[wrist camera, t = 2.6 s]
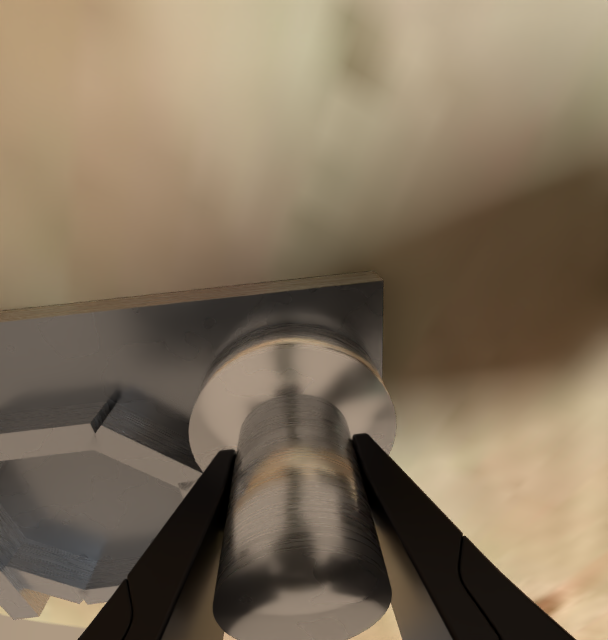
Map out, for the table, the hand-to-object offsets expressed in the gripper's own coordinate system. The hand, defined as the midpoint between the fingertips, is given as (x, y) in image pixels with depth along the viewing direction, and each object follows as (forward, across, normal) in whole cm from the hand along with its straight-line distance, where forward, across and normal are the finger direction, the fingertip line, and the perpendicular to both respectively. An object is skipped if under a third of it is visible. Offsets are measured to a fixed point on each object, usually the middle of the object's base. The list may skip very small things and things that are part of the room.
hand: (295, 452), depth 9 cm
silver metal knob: (+2, 0, 0) cm, 2 cm away
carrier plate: (+3, +4, +2) cm, 6 cm away
